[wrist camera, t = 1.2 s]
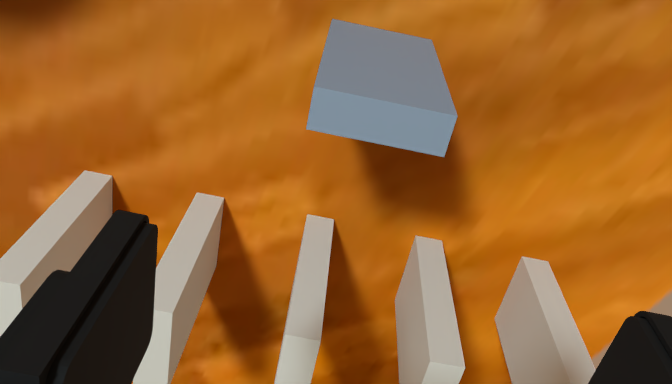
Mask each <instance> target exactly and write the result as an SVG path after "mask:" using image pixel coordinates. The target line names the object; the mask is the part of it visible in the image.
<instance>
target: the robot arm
mask: <svg viewBox="0 0 672 384" xmlns="http://www.w3.org/2000/svg"><path fill="white" fill-rule="evenodd" d="M157 237H158V228H157V225H154V224H149V218H148V216H147V215H142V214H137V213H132V212H127V211H122V210H116V211H115V212H114V213H113V215H112V216H111V217H110V219H109V220H108V221H107V223H106V224H105V225H104V227H103V228H102V230H101V231H100V232H99V234H98V235H97V236H96V238H95V239H94V240H93V242H92V243H91V244H90V246H89V247H88V248H87V250H86V251H85V252H84V254H83V255H82V256H81V258H80V259H79V260H78V262H77V263H76V264H75V266H74V267H73V268H72V270H71V271H70V272H69V271H63V270H56V271H53V272H52V273H51V274H50V275H49V276H48V277H47V278H46V280H45V281H44V282H43V283H42V285H41V286H40V287H39V288H38V290H37V291H36V292H35V294H34V295H33V296H32V297H31V299H30V300H29V301H28V302H27V304H26V305H25V306H24V307H23V309H22V310H21V311H20V312H19V314H18V315H17V316H16V318H15V319H14V320H13V321H12V323H11V324H10V325H9V326H8V328H7V329H6V330H5V331H4V333H3V334H2V335H1V336H0V384H131V383H132V381H133V378H134V376H135V374H136V372H137V370H138V368H139V366H140V363H141V361H142V359H143V357H144V355H145V353H146V351H147V348H148V346H149V343H150V340H151V336H152V331H153V316H154V296H155V276H156V257H157ZM588 384H672V317H670V316H667V315H662V314H657V313H651V312H646V311H639V312H638V313H636V314H635V315H634V316H630V317H628V318H627V319H626V320H625V321H624V323H623V325H622V326H621V328H620V330H619V331H618V333H617V335H616V336H615V338H614V340H613V342H612V343H611V345H610V347H609V348H608V350H607V352H606V354H605V356H604V357H603V359H602V360H601V362H600V364H599V366H598V367H597V369H596V371H595V372H594V374H593V376H592V377H591V379H590V381H589V383H588Z"/></svg>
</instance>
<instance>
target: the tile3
mask: <svg viewBox="0 0 672 384" xmlns="http://www.w3.org/2000/svg"><path fill="white" fill-rule="evenodd" d="M333 225H334V219H330V218H324V217H319V216H314V215H309V214H307V218H306V223H305V228H304V233H303V238H302V243H301V248H300V253H299V258H298V262H297V267H296V272H295V277H294V282H293V288H292V293H291V298H290V303H289V309H288V314H287V319H286V324H285V330H284V335H283V340H282V345H281V351H280V356H279V361H278V366H277V372H276V377H275V382H274V384H310V383H311V379H312V375H313V371H314V367H315V363H316V359H317V355H318V351H319V346H320V342H321V335H322V326H323V317H324V308H325V298H326V289H327V280H328V271H329V262H330V253H331V243H332V234H333Z"/></svg>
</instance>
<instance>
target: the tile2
mask: <svg viewBox="0 0 672 384" xmlns="http://www.w3.org/2000/svg"><path fill="white" fill-rule="evenodd" d="M395 309H396V329H397V348H398V368H399V384H459V382H460V380H461V377H462V375H463V373H464V370H465V363H464V357H463V352H462V347H461V341H460V336H459V330H458V325H457V319H456V314H455V309H454V303H453V298H452V292H451V287H450V282H449V276H448V271H447V265H446V260H445V254H444V249H443V244H442V241H441V240H436V239H431V238H426V237H421V236H415V239H414V242H413V245H412V248H411V251H410V254H409V258H408V261H407V264H406V267H405V270H404V273H403V276H402V280H401V283H400V286H399V289H398V292H397V295H396V298H395Z"/></svg>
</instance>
